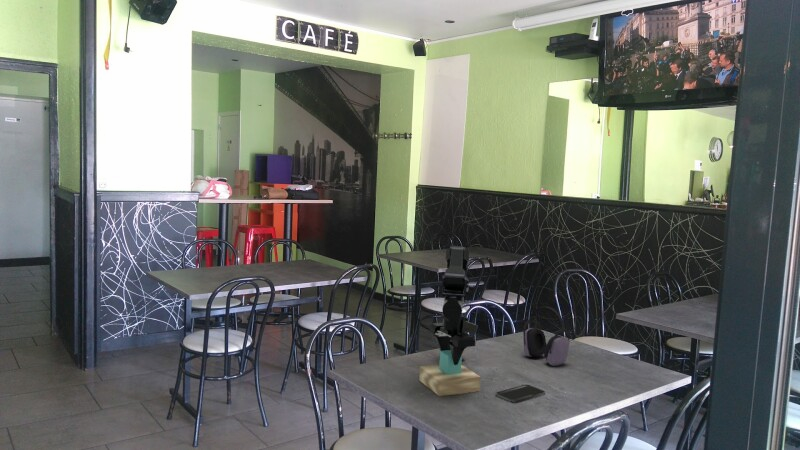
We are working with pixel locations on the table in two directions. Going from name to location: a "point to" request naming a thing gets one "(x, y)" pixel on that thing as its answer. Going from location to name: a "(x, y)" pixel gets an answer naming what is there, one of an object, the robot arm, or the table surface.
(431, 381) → the oak box
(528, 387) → the phone
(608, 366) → the table surface
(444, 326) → the robot arm
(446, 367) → the teal cube
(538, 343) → the headphones
